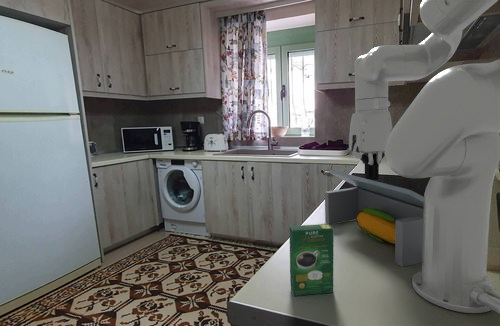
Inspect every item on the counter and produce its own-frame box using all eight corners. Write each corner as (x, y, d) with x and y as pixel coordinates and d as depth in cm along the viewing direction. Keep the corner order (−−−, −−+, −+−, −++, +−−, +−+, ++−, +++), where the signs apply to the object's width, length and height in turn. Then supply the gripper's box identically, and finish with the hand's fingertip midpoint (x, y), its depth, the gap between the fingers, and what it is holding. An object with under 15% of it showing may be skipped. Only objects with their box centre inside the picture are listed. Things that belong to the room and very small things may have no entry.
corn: (371, 200, 87) (426, 221, 68) (373, 224, 88) (427, 252, 69) (349, 205, 86) (399, 228, 66) (351, 230, 87) (400, 259, 68)
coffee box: (330, 285, 58) (329, 221, 57) (335, 293, 56) (334, 227, 54) (290, 288, 58) (287, 225, 56) (293, 297, 55) (290, 230, 53)
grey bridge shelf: (444, 256, 67) (446, 214, 65) (402, 267, 63) (402, 222, 62) (357, 216, 96) (357, 187, 95) (325, 222, 93) (324, 191, 91)
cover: (446, 214, 65) (448, 210, 65) (409, 194, 62) (411, 190, 62) (357, 187, 95) (358, 184, 95) (328, 172, 91) (329, 169, 91)
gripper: (385, 106, 78) (385, 173, 81) (336, 109, 74) (337, 180, 77) (407, 104, 71) (406, 178, 74) (355, 107, 67) (356, 185, 70)
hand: (371, 179), depth 75 cm, fingers closed
